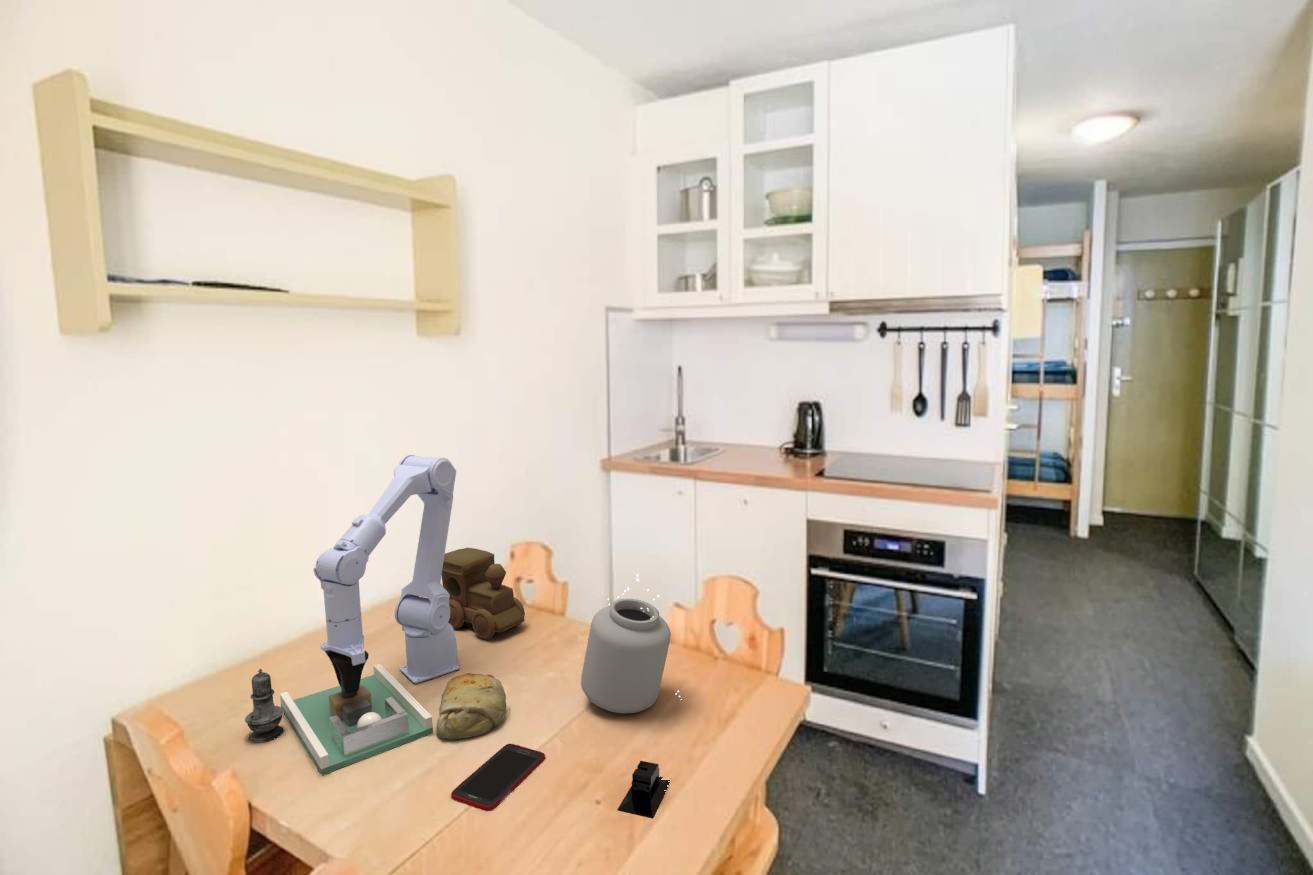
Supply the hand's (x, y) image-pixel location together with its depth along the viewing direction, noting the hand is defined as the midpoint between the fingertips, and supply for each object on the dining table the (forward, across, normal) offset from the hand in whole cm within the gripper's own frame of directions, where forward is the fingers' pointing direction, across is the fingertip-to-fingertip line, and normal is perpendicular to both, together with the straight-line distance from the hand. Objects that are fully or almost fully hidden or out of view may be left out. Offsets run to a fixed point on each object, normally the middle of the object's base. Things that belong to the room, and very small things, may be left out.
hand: (349, 688), depth 126 cm
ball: (+2, +10, 0) cm, 11 cm away
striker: (+4, +1, 0) cm, 4 cm away
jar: (+6, +29, +41) cm, 51 cm away
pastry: (+6, +15, +16) cm, 23 cm away
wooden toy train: (+6, -21, +36) cm, 42 cm away
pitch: (+5, +2, 0) cm, 6 cm away
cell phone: (+6, +33, +12) cm, 36 cm away
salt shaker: (+6, -4, -13) cm, 15 cm away
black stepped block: (+6, +51, +26) cm, 58 cm away
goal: (+4, +10, 0) cm, 11 cm away
